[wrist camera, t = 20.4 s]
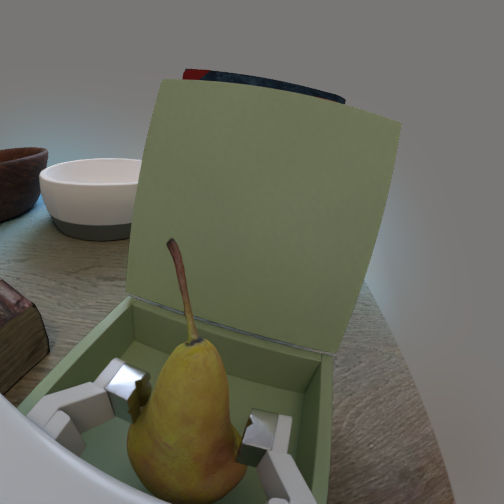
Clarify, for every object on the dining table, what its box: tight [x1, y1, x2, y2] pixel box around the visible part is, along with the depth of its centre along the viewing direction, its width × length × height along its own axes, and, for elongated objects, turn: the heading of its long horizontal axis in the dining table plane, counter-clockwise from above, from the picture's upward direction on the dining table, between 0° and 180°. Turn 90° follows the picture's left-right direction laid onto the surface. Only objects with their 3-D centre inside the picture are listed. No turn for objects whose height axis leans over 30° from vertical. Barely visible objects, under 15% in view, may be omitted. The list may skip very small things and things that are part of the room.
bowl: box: [39, 158, 142, 241], centre depth 39 cm, size 22×22×8 cm
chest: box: [17, 296, 333, 504], centre depth 13 cm, size 14×15×4 cm
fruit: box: [127, 238, 247, 504], centre depth 9 cm, size 6×6×12 cm
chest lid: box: [126, 79, 401, 353], centre depth 18 cm, size 14×15×5 cm
